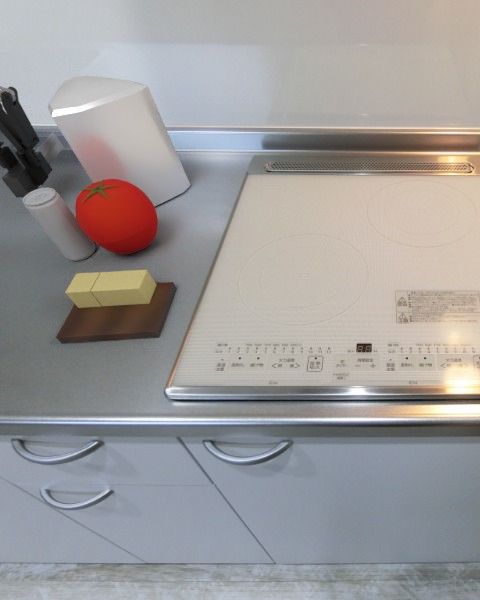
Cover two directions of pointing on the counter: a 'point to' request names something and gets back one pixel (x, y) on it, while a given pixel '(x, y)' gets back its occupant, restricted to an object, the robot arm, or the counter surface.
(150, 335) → the board
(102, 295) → the butter block
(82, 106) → the white plastic container
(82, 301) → the butter slice
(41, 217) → the beverage can
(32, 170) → the robot arm
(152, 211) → the tomato
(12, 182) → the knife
